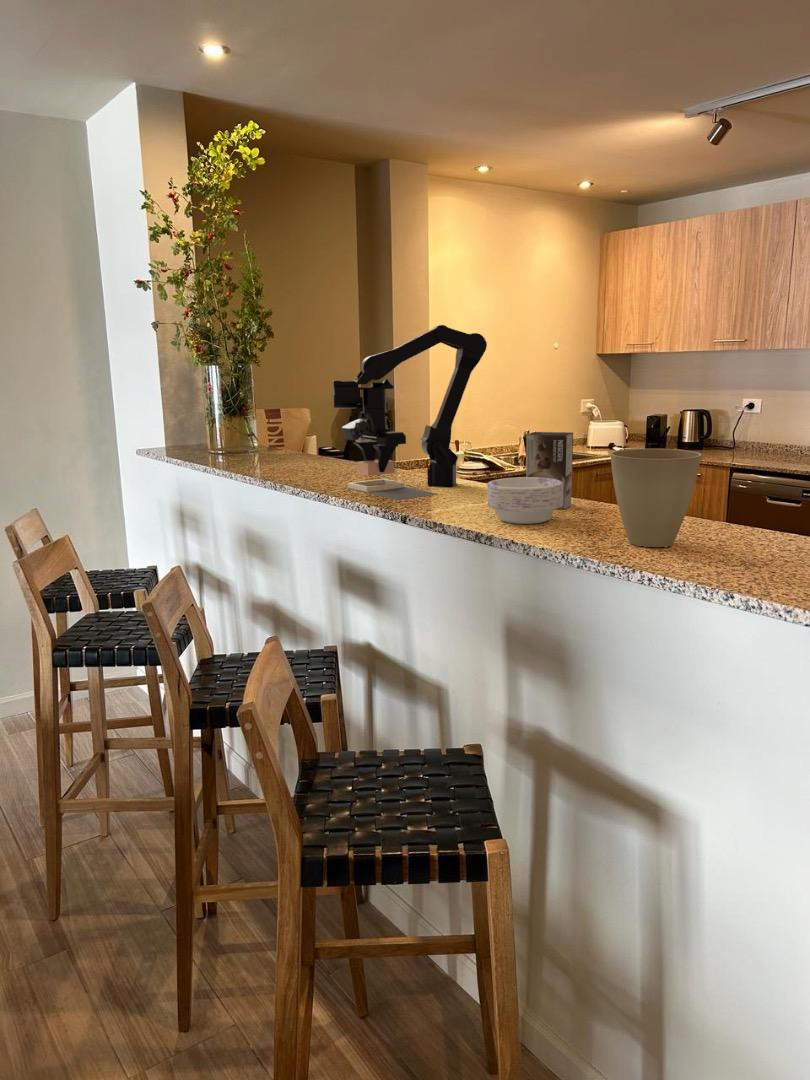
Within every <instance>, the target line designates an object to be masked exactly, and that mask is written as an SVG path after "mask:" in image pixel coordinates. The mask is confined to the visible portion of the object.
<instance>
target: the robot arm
mask: <svg viewBox="0 0 810 1080" xmlns="http://www.w3.org/2000/svg"><path fill="white" fill-rule="evenodd" d="M487 343H488V342H487V341H486V338H485V337H484V335H482V334H481V333H477V332H474V333H467V332H464V331H461V330H457V329H454V328H450V327H448V326H446V325H445V324H439V325H435V326H434V327H433V328H432V329H430V330H428V331H425V332H424V333H422V334H420V335H419V336H416V337H415V338H413V339H410V340H408V341H406V342H404V343H403V344H401V345H399V346H397V347H394V348H393V349H389V350H386V351H383V352H378V353H376V354H373V355H368V356H367V357H365V358H364V359H363V360H362V362H361V365H360V372H359V373H358V374H357V375H356V376H355V378H354V380H347V381H346V380H333V381H332V393H331V400H332V401H331V402H332V404H331V405H332V409H334V410H336V409H337V410H338V409H339V410H340V409H341V410H342V409H345V410H346V409H357V406H358V405H361V402H362V411H360V412H359V414H358V419H355V420H353V421H350V422H349V423H346V424H345V425H343V426H342V427H341V429H342V432H343V435H344V437H345V440H346V441H353V442H352V443H353V445H355V446H357V447H358V448H359V450H360V451H361V454H362V456H363V457H362V458H363V459H364V460H363V461H370V460H376V453H377V460H378V463H379V470H380V472H384V471H385V469H386V466H387V464H388V462H389V460H391V457H392V455H393V454H394V451H395V450H396V448H397V447H399V445H405V444H407V435H406V434H405V433H404V432H403V431H391V428H387V417H390V416H391V413H390V411H387V390H393V389H394V388H395V386H394V385H393V384H391V383H390V381H389V379H387V378H385V379H384V380H383V381H382V382H381V381H379V382H377V380H381V379H382V378H384V377H385V376H386V375H388V374H390V373H391V372H392V371H393V370H395V368H396V367H397V366H399V365H400V364H402V363H403V362H406V361H407V360H410V359H411V358H413V357H415V356H417V355H419V354H421V353H424V351H426V350H429V349H430V348H432V347H435V346H437V345H439V344H443V345H445V346H448V347H451V348H453V349H455V350H456V352H455V365H454V369H453V373H452V375H451V378H450V379H449V383H448V386H447V389H446V391H445V394H444V397H443V399H442V402H441V404H440V405H441V406H440V407H439V411H438V413H437V415H436V418H435V421H433V423H432V424H431V425H429V424H425V427H424V430H423V431H424V432H423V434H422V436H421V437H420V441H421V449H422V451H423V452H424V454H425V455H428V458H429V460H430V462H429V464H428V465H429V467H428V468H427V470H426V471H427V478H426V479H427V480H426V481H427V487H431V488H432V487H433V488H454V487H455V486H457V485H458V483H457V461H458V458H459V455H456V453H455V452H454V451H452V449H450V445H451V439H452V427H453V423H454V420H455V418H456V415H457V412H458V410H459V406H460V405H461V403H462V402H461V401H462V399H463V395H464V393H465V391H466V388H467V384H468V382H469V380H470V376H471V374H472V372H473V371H474V369H475V368H476V367H477V365H478V364H479V363H480V362H481V360H482V357H483V356H484V354H485V352H486V350H487V346H488V344H487ZM371 381H373V382H371ZM374 381H375V382H374ZM370 382H371V383H370ZM368 383H370V386H359V385H367V384H368ZM361 390H362V394H361Z"/></svg>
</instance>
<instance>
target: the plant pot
mask: <svg viewBox="0 0 810 1080" xmlns="http://www.w3.org/2000/svg"><path fill="white" fill-rule="evenodd" d="M609 456H610V464H611V473H612V480H613V487H614V492H615V497H616V502H617V506H618V510H619V511H618V512H619V514H620V517H621V518H620V519H621V521H622V525H623V529H624V531H625V535H626V537H627V540H628V543H629V542H630V543H631V545H632V544H634V545H633V546H635V545H637V546H636V547H639V546H644V547H643V548H646V547H664V548H667V547H666V546H669V547H671V546H673V545H674V543H675V540H676V538H677V536H678V533H679V532H680V529H681V527H682V525H683V522H684V520H685V516H686V514H687V512H688V508H689V505H690V502H691V499H692V496H693V492H694V490H695V487H696V486H695V485H696V481H697V478H698V473H699V469H700V464H701V459H702V453H700V452H697V451H692V450H687V449H686V450H685V449H675V448H674V449H673V448H631V449H630V448H628V449H618V450H614V451H612V452H610V455H609ZM630 543H629V544H630ZM672 544H673V545H672Z"/></svg>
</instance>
